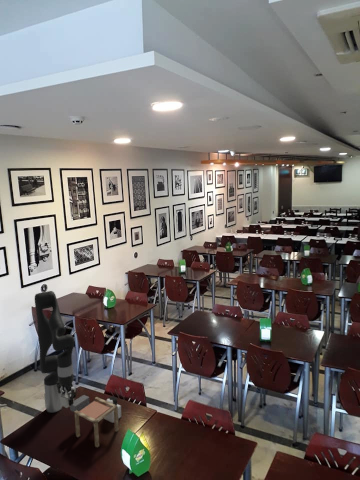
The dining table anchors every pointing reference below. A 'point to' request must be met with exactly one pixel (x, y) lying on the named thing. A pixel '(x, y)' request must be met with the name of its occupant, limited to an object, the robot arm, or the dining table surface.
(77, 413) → the stand
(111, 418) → the medicine bottle
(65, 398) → the light gray cube
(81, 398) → the trapdoor
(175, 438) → the dining table surface
